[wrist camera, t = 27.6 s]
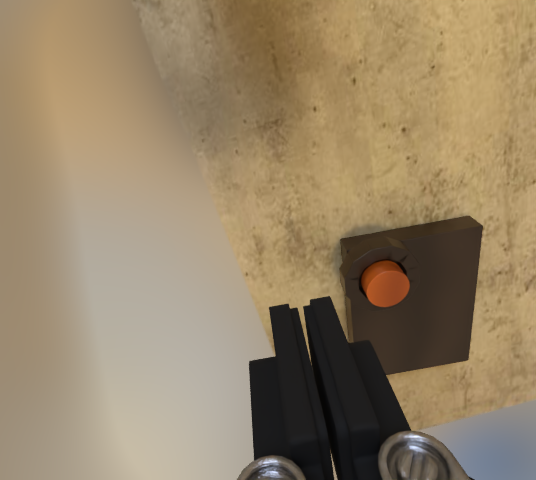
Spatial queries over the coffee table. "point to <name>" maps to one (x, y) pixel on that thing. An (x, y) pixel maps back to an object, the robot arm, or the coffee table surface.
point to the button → (384, 283)
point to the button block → (416, 293)
